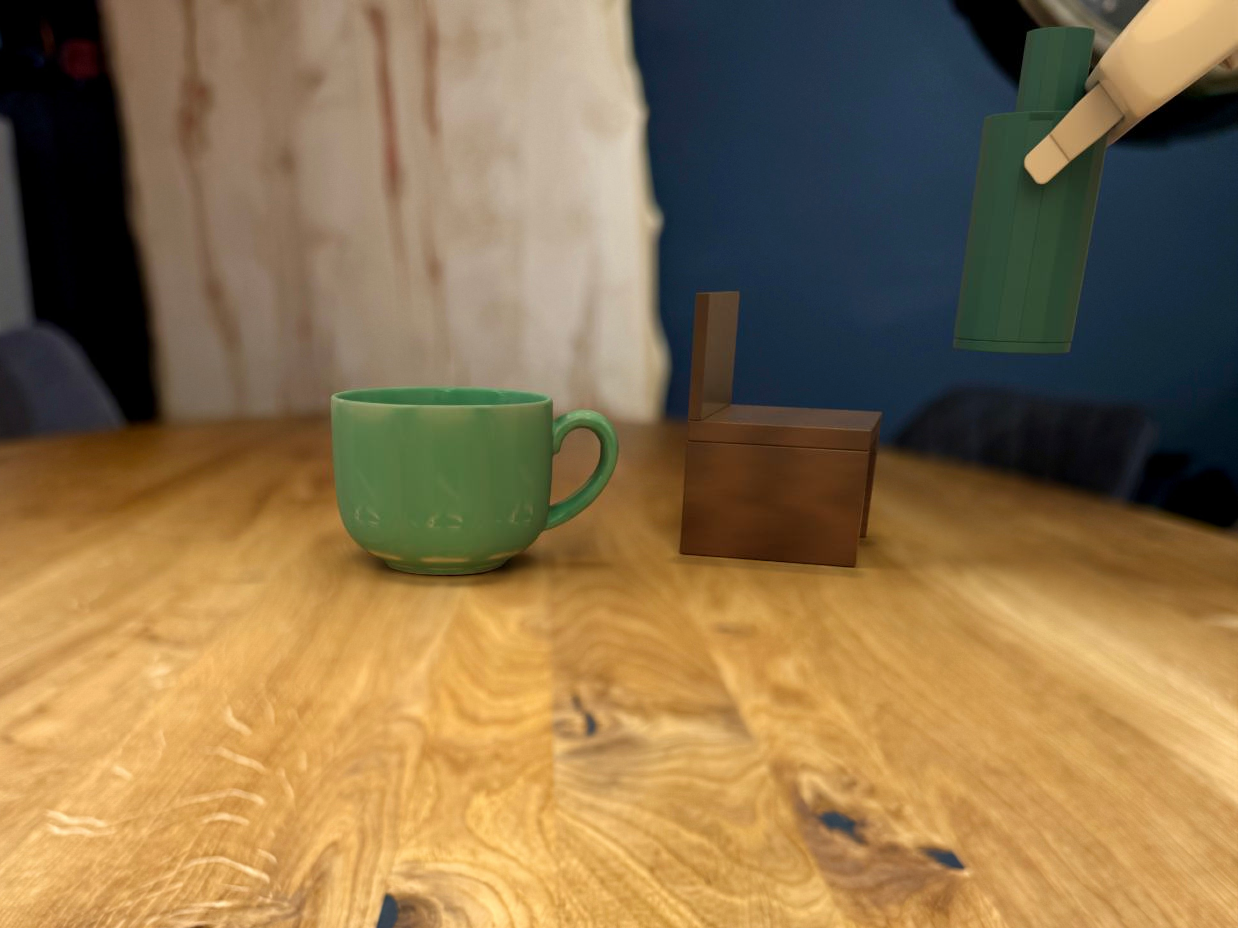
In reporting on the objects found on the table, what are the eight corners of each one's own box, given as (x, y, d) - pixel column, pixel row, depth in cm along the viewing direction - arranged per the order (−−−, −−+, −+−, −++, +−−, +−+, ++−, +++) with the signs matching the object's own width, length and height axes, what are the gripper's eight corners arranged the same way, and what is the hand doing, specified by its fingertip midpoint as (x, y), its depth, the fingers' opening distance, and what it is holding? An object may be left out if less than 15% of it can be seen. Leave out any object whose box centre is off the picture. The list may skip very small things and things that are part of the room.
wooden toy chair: (866, 533, 91) (897, 295, 84) (854, 567, 80) (887, 298, 74) (710, 522, 93) (727, 290, 87) (679, 553, 83) (696, 292, 76)
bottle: (1072, 349, 80) (1128, 37, 73) (1065, 355, 74) (1125, 18, 67) (960, 345, 82) (1004, 42, 75) (945, 350, 77) (990, 24, 69)
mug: (322, 583, 73) (312, 401, 69) (353, 540, 84) (346, 382, 80) (618, 590, 73) (627, 409, 69) (610, 547, 84) (616, 390, 80)
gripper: (1189, -43, 76) (987, 149, 83) (1261, -139, 59) (997, 115, 65) (1252, 46, 77) (1048, 229, 84) (1341, -22, 60) (1074, 218, 66)
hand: (1026, 179), depth 74 cm, fingers closed on bottle, 7 cm apart
